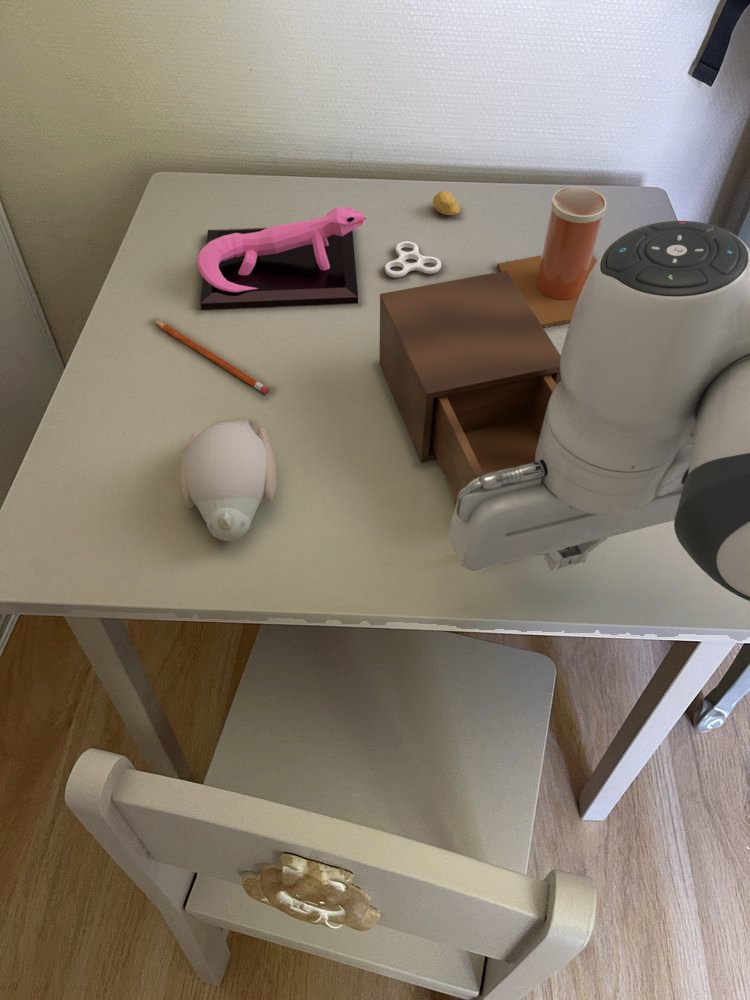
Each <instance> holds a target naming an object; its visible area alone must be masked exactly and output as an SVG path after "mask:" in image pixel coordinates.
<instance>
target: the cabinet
mask: <svg viewBox="0 0 750 1000" xmlns="http://www.w3.org/2000/svg"><path fill="white" fill-rule="evenodd" d="M560 358H561V353H560V352H559V351H558V349H557V347H556V346H555V344H554V343H553V341H552V340H551V338H550V336H549V334H548V332H546V330H545V327H544V328H543V327H542V325H541V324H540V322H539V321H538V319H537V317H536V316H535V314H534V313H533V311H532V310H531V308H530V306H529V305H528V303H527V302H526V300H525V299H524V297H523V295H522V294H521V292H520V291H519V289H518V288H517V286H516V284H515V283H514V281H513V280H512V278H511V276H510V275H509V273H508V272H507V271H502V272H500V271H497V272H492V273H486V274H479V275H475V276H469V277H463V278H457V279H454V280H453V279H452V280H447V281H443V282H437V283H431V284H426V285H420V286H415V287H410V288H403V289H397V290H393V291H388V292H382V293H379V358H378V359H379V360H378V361H379V364H378V365H379V368H380V370H381V371H382V374H383V377H384V379H385V382H386V384H387V386H388V389H389V391H390V393H391V396H392V398H393V401H394V403H395V406H396V409H397V410H398V412H399V415H400V417H401V420H402V421H403V424H404V427H405V429H406V431H407V433H408V436H409V438H410V441H411V443H412V445H413V447H414V449H415V453H416V454H417V455H416V456H417V457H418V459H419V460H418V461H420V463H421V464H423V463H426V462H427V463H428V462H432V461H435V460H436V461H437V457H436V455H435V453H434V451H433V448H432V446H431V444H430V436H431V424H432V413H433V401H434V398H437V397H442V396H446V395H451V394H456V393H461V392H466V391H470V390H475V389H480V388H485V387H489V386H494V385H499V384H504V383H509V382H513V381H518V380H523V379H528V378H532V377H537V376H542V375H547V374H550V375H551V376H552V378H553V380H554V381H555V383H556V385H558V383H559V382H560V381H561V374H560Z"/></svg>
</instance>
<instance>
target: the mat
mask: <svg viewBox="0 0 750 1000" xmlns="http://www.w3.org/2000/svg"><path fill="white" fill-rule="evenodd" d="M541 256H542V255H537V256H529V257H525V258H520V259H519V258H518V259H515V260H514V259H513V260H509V261H503V262H498V263H497V264H496V268H497V270H498V272H502V271H507V272H508V273H509V275H510V276H511V278H512V280H513V281H514V283H515V284H516V286H517V288H518V289H519V291H520V292H521V294H522V295H523V297H524V299H525V300H526V302H527V303H528V305H529V306H530V308H531V310H532V311H533V313H534V314H535V316H536V317H537V319H538V321H539V322H540V324H541V325H542V327H543V328H544V329H545V328H549V327H554V326H558V325H559V326H560V325H564V324H570V321H571V318H572V315H573V312H574V309H575V306H576V304H577V301H578V298H579V296H580V295H579V296H578V297H576V298H573V299H569V300H557V299H553V298H550V297H548V296H546V295H544V294H543V293H541V292H540V291H539V289H538V287H537V284H536V281H537V276H538V271H539V266H540V261H541ZM597 261H598V259H597V258H595V256H594V254H593V255H592V259H591V263H590V267H589V270H588V274H587V278H588V276H589V274H590V272H591V270H592V268H593V267H594V265H595V264H596V262H597ZM587 278H586V280H587Z"/></svg>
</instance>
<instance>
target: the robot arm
mask: <svg viewBox="0 0 750 1000" xmlns="http://www.w3.org/2000/svg"><path fill="white" fill-rule="evenodd" d="M560 355H561V358H560V374H561V381H560V382H559V383H558V385H557V386H556V387H555V389H554V391H553V392H552V394H551V397H550V399H549V402H548V406H547V410H546V414H545V417H544V421H543V425H542V429H541V433H540V436H539V440H538V444H537V448H536V453H535V462H533V463H529V464H524V465H520V466H517V467H513V468H509V469H504V470H500V471H495V472H490V473H487V474H484V475H482V476H480V477H478V478H476V479H474V480H473V481H471V482H470V483H469V484H468V485H467V486H466V488H463V489H462V490H461V491H460V492H459V494H458V498H457V503H456V504H455V508H454V511H453V515H452V516H451V517H452V518H451V520H450V523H449V528H448V537H449V541H450V544H451V546H452V549H453V552H454V554H455V556H456V558H457V560H458V563H459V564H460V565H461V566H462V567H463V568H465V569H467V571H471V572H476V571H481V570H485V569H488V568H489V569H490V568H492V567H497V566H500V565H504V564H509V563H512V562H517V561H520V560H524V559H528V558H532V557H535V556H539V555H543V557H544V560H545V561H546V562H545V563H546V564H547V566H548V568H549V569H550V570H551V571H554V570H558V569H562V568H566V567H569V566H573V565H577V564H581V563H586V559H587V557H588V555H589V553H591V552H592V551H594V550H595V549H596V548H598V546H600V545H601V544H602V543H604V542H605V541H606V540H607V539H608V538H610V537H614V536H617V535H618V536H619V535H621V534H626V533H629V532H633V531H637V530H643V529H645V528H649V527H653V526H656V525H661V524H664V523H665V524H666V523H669V522H673V521H674V523H673V527H674V533H675V536H676V539H677V540H678V542H679V544H680V545H681V547H682V548H683V549H684V551H685V552H686V553H687V555H688V556H689V557H690V558H691V560H692V561H693V562H694V563H695V564H696V565H697V566H698V567H699V568H700V569H701V570H702V571H703V572H704V573H705V574H706V575H707V576H708V577H710V578H711V579H712V580H713V581H715V582H716V583H717V584H718V585H720V586H721V587H722V588H724V589H725V590H727V591H728V592H730V593H731V594H733V595H735V596H737V597H740V598H741V599H742V600H743V599H744V600H745V601H748V602H750V248H749V247H748V246H747V244H746V243H745V242H744V241H743V240H742V239H741V238H739V236H737V235H736V234H733V233H732V232H730V231H728V230H726V229H724V228H722V227H719V226H717V225H714V224H710V223H705V222H700V221H693V220H668V221H660V222H654V223H650V224H646V225H643V226H639V227H637V228H634V229H633V230H631V231H629V232H627V233H625V234H623V235H622V236H621V237H619V238H617V239H616V240H615V241H613V243H611V244H610V245H609V246H608V247H607V248H606V249H605V250H604V251H603V253H602V254H601V255H600V256H599V258H597V262H596V264H595V265H594V267H593V268H592V270H591V272H590V274H589V276H588V278H587V280H586V282H585V284H584V286H583V289H582V291H581V293H580V296H579V298H578V301H577V304H576V306H575V309H574V312H573V315H572V318H571V321H570V322H569V323H568V328H567V330H566V335H565V338H564V342H563V345H562V349H561V353H560Z"/></svg>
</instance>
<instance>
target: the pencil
mask: <svg viewBox="0 0 750 1000" xmlns="http://www.w3.org/2000/svg"><path fill="white" fill-rule="evenodd" d="M155 323H156V324H157V325H158V326H159V327H160V328H161V329H162V330H163V331H165V332H166V333H168V334H169V335H171V336H173V337H174V338H176V339H177V340H179V341H180V342H182V343H184V344H185V345H187V346H188V347H190V348H192V349H193V350H195V351H196V352H198V353H199V354H200V355H203V356H204V357H206V358H207V359H209V360H211V361H212V362H213V363H215V364H217V365H218V366H220V367H222V368H223V369H224V370H226V371H228V372H230V373H231V374H233V375H234V376H235V377H237V378H239V379H241V380H242V381H243V382H245V383H247V384H248V385H250V386H251V387H253V388H254V389H256V390H258V391H259V392H261V393H262V394H264V395H267V394H268V393H269V392H270V388H269V387H267V386H266V385H265V384H262V383H261V382H259V381H258V380H257V379H255V378H253V377H251V376H250V375H248V374H247V373H245V372H243V371H242V370H240V369H239V368H237V367H235V366H234V365H232V364H231V363H229V362H228V361H226V360H224V359H222V358H221V357H220V356H218V355H216V354H215V353H213V352H212V351H210V350H208V349H207V348H205V347H204V346H202V345H200V344H199V343H197V342H196V341H194V340H193V339H191V338H189V337H188V336H186V335H184V334H183V333H181V332H179V331H178V330H176V329H175V328H174V327H172V326H170V325H168V324H167V323H165V322H161V321H159V320H155Z"/></svg>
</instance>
